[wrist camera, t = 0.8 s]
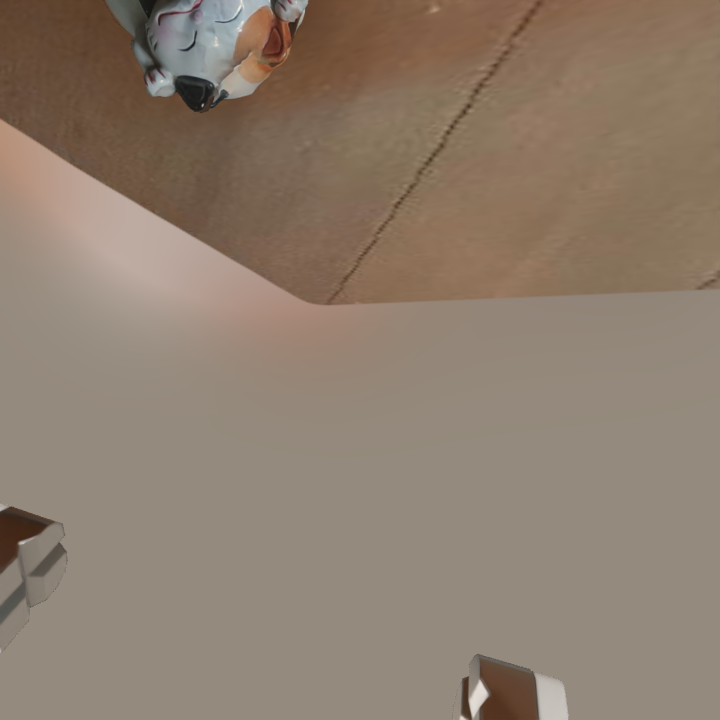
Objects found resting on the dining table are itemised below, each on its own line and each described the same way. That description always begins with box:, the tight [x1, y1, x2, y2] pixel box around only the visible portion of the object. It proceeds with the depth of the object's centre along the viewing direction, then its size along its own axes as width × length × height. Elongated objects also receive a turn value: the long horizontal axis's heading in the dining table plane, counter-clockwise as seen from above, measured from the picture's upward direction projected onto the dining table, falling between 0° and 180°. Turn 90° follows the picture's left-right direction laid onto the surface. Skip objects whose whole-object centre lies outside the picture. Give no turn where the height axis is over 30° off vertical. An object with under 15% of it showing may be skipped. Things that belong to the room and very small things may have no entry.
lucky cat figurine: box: [103, 0, 308, 113], centre depth 40 cm, size 15×12×14 cm
